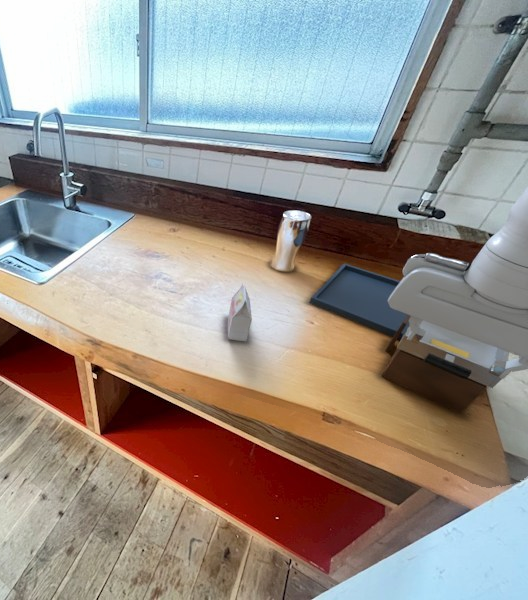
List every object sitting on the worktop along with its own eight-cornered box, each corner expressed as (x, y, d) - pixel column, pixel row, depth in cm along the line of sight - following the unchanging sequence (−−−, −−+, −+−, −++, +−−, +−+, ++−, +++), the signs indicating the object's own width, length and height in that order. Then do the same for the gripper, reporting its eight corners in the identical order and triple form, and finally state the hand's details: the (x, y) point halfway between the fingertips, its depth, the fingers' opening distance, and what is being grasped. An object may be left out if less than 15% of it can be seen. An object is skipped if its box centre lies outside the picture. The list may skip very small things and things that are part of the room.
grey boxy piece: (244, 320, 72) (253, 284, 66) (246, 341, 67) (256, 303, 61) (227, 318, 73) (235, 282, 67) (228, 339, 68) (235, 301, 62)
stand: (480, 380, 57) (509, 351, 52) (471, 419, 51) (503, 390, 47) (389, 342, 65) (407, 314, 61) (372, 372, 59) (391, 343, 55)
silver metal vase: (296, 274, 86) (313, 221, 77) (268, 270, 88) (282, 218, 79) (295, 261, 91) (311, 211, 82) (269, 258, 94) (282, 208, 85)
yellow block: (467, 355, 52) (469, 352, 52) (465, 362, 51) (467, 360, 50) (430, 341, 55) (432, 338, 55) (427, 347, 54) (429, 345, 53)
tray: (475, 311, 72) (480, 306, 71) (460, 364, 60) (465, 358, 59) (342, 268, 88) (344, 263, 87) (309, 302, 76) (311, 297, 75)
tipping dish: (502, 338, 56) (515, 323, 54) (489, 403, 46) (505, 388, 44) (417, 308, 63) (425, 294, 61) (390, 359, 53) (399, 344, 51)
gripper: (408, 256, 43) (365, 332, 51) (663, 329, 31) (552, 411, 39) (419, 240, 46) (377, 313, 55) (652, 300, 34) (552, 382, 43)
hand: (451, 355), depth 47 cm, fingers open, 8 cm apart
